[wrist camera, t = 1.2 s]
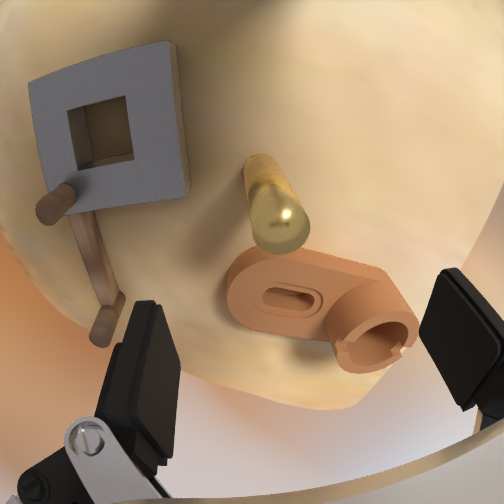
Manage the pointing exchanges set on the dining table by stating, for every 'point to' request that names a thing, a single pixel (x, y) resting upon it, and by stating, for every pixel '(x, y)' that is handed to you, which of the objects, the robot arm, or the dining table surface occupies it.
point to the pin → (273, 207)
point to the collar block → (140, 122)
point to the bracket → (323, 305)
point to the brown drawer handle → (87, 258)
